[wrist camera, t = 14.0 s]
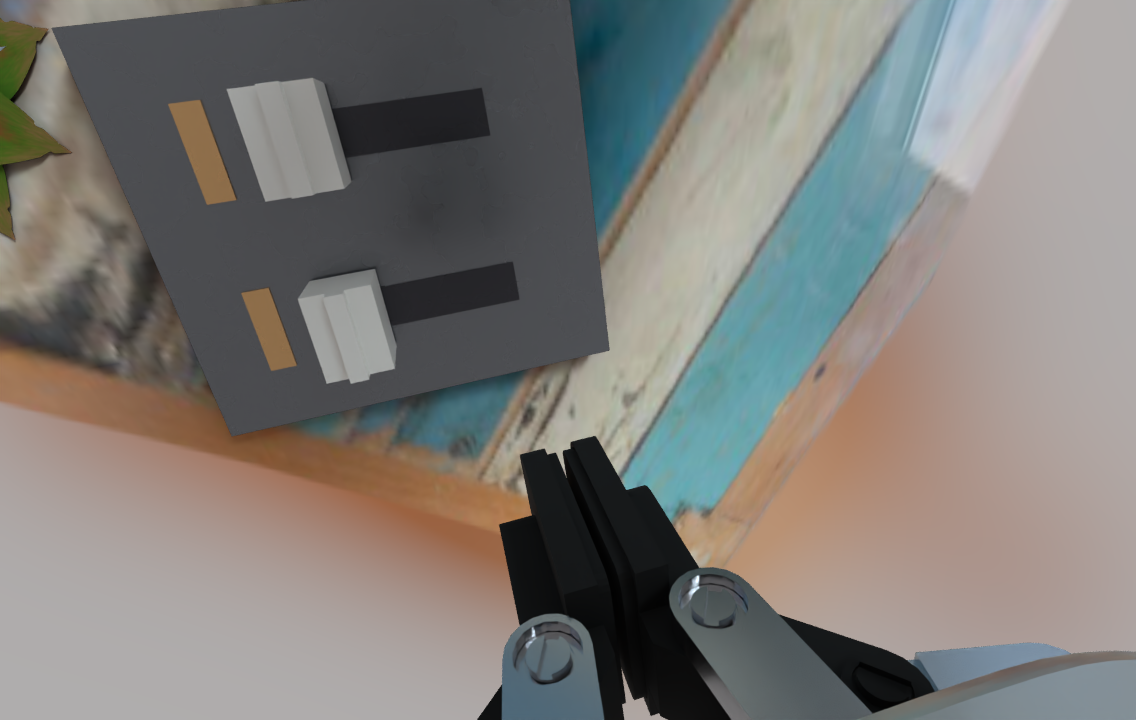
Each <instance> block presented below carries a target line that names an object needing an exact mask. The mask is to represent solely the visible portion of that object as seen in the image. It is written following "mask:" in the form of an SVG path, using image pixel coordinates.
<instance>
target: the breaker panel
mask: <svg viewBox="0 0 1136 720" xmlns="http://www.w3.org/2000/svg"><path fill="white" fill-rule="evenodd" d="M52 30H53V33H54V35H55V37H56V39H57V42H58V44H59V46H60V49H61V51H62V53H63V55H64V58H65V60H66V62H67V64H68V67H69V69H70V71H71V73H72V76H73V78H74V80H75V82H76V85H77V87H78V89H79V92H80V94H81V96H82V98H83V101H84V103H85V105H86V107H87V110H88V112H89V114H90V116H91V119H92V121H93V123H94V126H95V128H96V130H97V132H98V135H99V137H100V139H101V141H102V144H103V146H104V148H105V150H106V153H107V155H108V157H109V159H110V162H111V164H112V166H113V169H114V171H115V173H116V175H117V178H118V180H119V182H120V184H121V187H122V189H123V191H124V193H125V196H126V198H127V200H128V202H129V205H130V207H131V209H132V212H133V214H134V216H135V218H136V221H137V223H138V225H139V227H140V230H141V232H142V234H143V236H144V239H145V241H146V243H147V245H148V248H149V250H150V252H151V255H152V257H153V259H154V261H155V264H156V266H157V268H158V270H159V273H160V275H161V277H162V279H163V282H164V284H165V286H166V289H167V291H168V293H169V295H170V298H171V300H172V302H173V304H174V307H175V309H176V311H177V313H178V316H179V318H180V320H181V322H182V325H183V327H184V329H185V332H186V334H187V336H188V338H189V341H190V343H191V345H192V347H193V350H194V352H195V354H196V356H197V359H198V361H199V363H200V365H201V368H202V370H203V372H204V375H205V377H206V379H207V381H208V384H209V386H210V388H211V390H212V393H213V395H214V397H215V399H216V402H217V404H218V406H219V408H220V411H221V413H222V415H223V418H224V420H225V422H226V424H227V427H228V429H229V431H230V433H231V436H236V435H240V434H245V433H249V432H253V431H258V430H262V429H267V428H271V427H275V426H280V425H284V424H289V423H293V422H297V421H302V420H306V419H311V418H315V417H319V416H324V415H328V414H333V413H337V412H341V411H346V410H350V409H355V408H359V407H363V406H368V405H372V404H376V403H381V402H385V401H390V400H394V399H398V398H403V397H407V396H412V395H416V394H420V393H425V392H429V391H434V390H438V389H442V388H447V387H451V386H456V385H460V384H464V383H469V382H473V381H478V380H482V379H486V378H491V377H495V376H500V375H504V374H508V373H513V372H517V371H522V370H526V369H530V368H535V367H539V366H544V365H548V364H552V363H557V362H561V361H566V360H570V359H574V358H579V357H583V356H588V355H592V354H596V353H601V352H605V351H609V341H608V332H607V323H606V315H605V306H604V297H603V288H602V280H601V271H600V262H599V253H598V244H597V236H596V227H595V218H594V209H593V200H592V192H591V183H590V174H589V165H588V156H587V148H586V139H585V130H584V121H583V113H582V104H581V95H580V86H579V77H578V69H577V60H576V51H575V42H574V33H573V25H572V16H571V7H570V0H304V1H295V2H286V3H277V4H267V5H258V6H249V7H240V8H231V9H221V10H212V11H203V12H194V13H185V14H175V15H166V16H157V17H148V18H139V19H129V20H120V21H111V22H102V23H93V24H83V25H74V26H65V27H56V28H52ZM308 78H314V79H316V80H319V81H321V82H323V83H324V85H325V88H326V92H327V95H328V99H329V102H330V106H331V110H332V113H333V117H334V120H335V124H336V127H337V131H338V135H339V138H340V142H341V145H342V149H343V152H344V156H345V160H346V163H347V167H348V170H349V174H350V177H351V181H352V182H351V183H350V184H349V185H348V186H347V187H346V188H345V189H340V190H334V191H328V192H322V193H316V194H314V195H312V196H305V197H299V198H293V199H292V198H285V199H279V200H273V201H267V202H265V199H264V196H263V193H262V191H261V188H260V185H259V182H258V179H257V176H256V173H255V170H254V167H253V164H252V162H251V159H250V156H249V153H248V150H247V147H246V144H245V141H244V138H243V135H242V133H241V130H240V127H239V124H238V121H237V118H236V115H235V112H234V109H233V106H232V104H231V101H230V98H229V95H228V92H227V89H232V88H239V87H247V86H255V84H258V83H266V82H274V81H280V82H285V81H293V80H300V79H308ZM371 269H375V271H376V274H377V278H378V282H379V285H380V289H381V292H382V296H383V299H384V303H385V306H386V310H387V314H388V317H389V321H390V324H391V328H392V331H393V335H394V338H395V342H396V346H397V347H396V360H395V369H392V370H387V371H383V372H378V373H374V374H370V378H369V380H365V381H361V382H356V383H352V384H351V383H350V380H349V379H346V380H342V381H337V382H333V383H328V384H327V383H326V380H325V377H324V374H323V371H322V368H321V365H320V362H319V360H318V357H317V354H316V351H315V348H314V345H313V342H312V339H311V336H310V334H309V331H308V328H307V325H306V322H305V319H304V316H303V313H302V310H301V308H300V305H299V302H298V298H299V296H300V295H301V293H302V292H303V290H304V289H305V287H306V285H307V284H308V282H309V281H313V280H318V279H324V278H329V277H334V276H340V275H345V274H350V273H355V272H361V271H366V270H371Z"/></svg>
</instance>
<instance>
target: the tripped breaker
mask: <svg viewBox="0 0 1136 720" xmlns="http://www.w3.org/2000/svg"><path fill="white" fill-rule="evenodd" d="M298 302H299V305H300V308H301V310H302V313H303V316H304V319H305V322H306V325H307V328H308V331H309V334H310V336H311V339H312V342H313V345H314V348H315V351H316V354H317V357H318V360H319V362H320V365H321V368H322V371H323V374H324V377H325V380H326V383H327V384H328V383H333V382H337V381H342V380H346V379H349V380H350V383H351V384H352V383H356V382H361V381H365V380H369V378H370V374H374V373H378V372H383V371H387V370H392V369H395V360H396V347H397V346H396V342H395V338H394V335H393V331H392V328H391V324H390V321H389V317H388V314H387V310H386V306H385V303H384V299H383V296H382V292H381V289H380V285H379V282H378V278H377V274H376V271H375V269H371V270H366V271H361V272H355V273H350V274H345V275H340V276H334V277H329V278H324V279H318V280H313V281H309V282H308V284H307V285H306V287H305V289H304V290H303V292H302V293H301V295H300V296H299V298H298Z"/></svg>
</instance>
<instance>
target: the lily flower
mask: <svg viewBox="0 0 1136 720" xmlns="http://www.w3.org/2000/svg"><path fill="white" fill-rule="evenodd" d="M47 31H48V29H46V28H37V27H34V28H33V27H32V26H29V25H25V24H22V23H18V22H15V21H9V22H4V21H2V19H1V18H0V47H4V46H6V47H5V48H4V49H3V50H1V51H0V232H1V233H3V234H5V235H7V236H9V237H10V238H12V239H14V240H15V237H14V234H13V231H12V229H11V228H12V222H11V214H10V213H9V211H8V210H7V209H8V207H10V199H9V192H8V186H7V180H6V175H5V172H4V168H3V165H2V164H9V163H15V162H21V161H25V160H30V159H35V158H39V157H42V156H43V155H44V154H47V153H48V152H50V151H51V152H53V154H54V153H55V154H57V153H72V152H71V151H69V150H68V149H66V148H65V147H64V146H62V145H60V144H58V142H57V141H56V140H55V139H54V138H53V137H51V136H50V135H49V134H48V133H47V132H46V131H45V130H44V129H42V128H39V127H37V126H36V125H35V124H34V120H33V119H32V118H30V117H29V116H28V115H27V114H26V113H25V112H24V111H22V110H21V109H20V108H19V107H18V106H16V105H15V104H14V103H13V102H12V101H10V99H11V98H12V97H13V96H14V95H15V93H16V92H17V91H18V89H19V88H20V86H21V84H22V82H23V80H24V78H25V77H26V75H27V73H28V70H29V68H30V66H31V63H32V61H33V59H34V56H35V53H36V48H35V47H36V41H40V40H41V39H42V37H43V36H44V34H45V33H46V32H47Z"/></svg>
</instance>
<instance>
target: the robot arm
mask: <svg viewBox="0 0 1136 720" xmlns="http://www.w3.org/2000/svg"><path fill="white" fill-rule="evenodd" d="M563 458H564V464H565V470H566V476H565V473H564V471H563V468H562V466H561V464H560V461H559V459H558V456H557V454H556V453H552V454H548V455H547V453H546V450H545V449H541V450H537V451H533V452H529V453H525V454H521V455H520V459H521V464H522V469H523V474H524V479H525V484H526V489H527V494H528V499H529V504H530V509H531V514H532V516H528V517H525V518H521V519H517V520H514V521H510V522H506V523H502V524H499V527H500V532H501V536H502V541H503V546H504V551H505V556H506V561H507V566H508V571H509V575H510V580H511V585H512V590H513V595H514V600H515V605H516V610H517V614H518V619H519V624H520V627H518V628H517V629H516V630H515V632H513V634H512V635H511V636H510V638H509V640H508V642H507V644H506V645H505V648H504V654H503V663H502V668H503V670H502V685H501V687H500V688H499V689H498V691H497V692H496V694H495V695H494V697H493V698H492V699H491V701H490V702H489V704H488V705H487V706H486V708H485V709H484V711H483V712H482V713H481V715H480V716H479V718H478V719H477V720H624V714H623V708H622V704H624V703H626V700H625V692H624V685H623V678H622V671H623V673H624V676H625V679H626V681H627V684H628V687H629V689H630V692H631V694H632V697H633V699H634V700H636V699H639V698H642V697H644V699H645V702H646V705H647V707H648V710H649V712H650V715H651V716H652V715H655V714H658V713H659V714H660V716H662V717H663V718H665V719H668V720H1136V652H1129V651H1101V652H1100V651H1099V652H1085V653H1073V654H1071V653H1069V652H1067V651H1066V650H1063V649H1060V648H1056V647H1053V646H1051V645H1047V644H1040V643H1019V644H1008V645H996V646H985V647H974V648H962V649H950V650H939V651H928V652H916V653H915V659H914V660H905V659H904V658H903V657H900V656H898V655H896V654H894V653H891V652H889V651H887V650H884V649H881V648H878V647H875V646H872V645H869V644H866V643H863V642H860V641H857V640H854V639H851V638H848V637H845V636H842V635H839V634H836V633H833V632H830V631H827V630H824V629H821V628H818V627H815V626H812V625H809V624H806V623H803V622H800V621H797V620H794V619H791V618H788V617H785V616H782V615H779V614H777V613H776V612H775V611H774V610H773V609H772V608H771V606H770V605H769V604H768V603H767V602H766V601H765V600H764V599H763V598H762V597H761V596H760V595H759V594H758V593H757V592H756V591H755V590H754V589H753V588H752V586H750V584H749V583H747V582H746V581H745V580H744V579H742V578H741V577H740V576H739V575H736V574H734V573H732V572H730V571H728V570H724V569H719V568H714V567H710V568H699V567H698V565H697V563H696V562H695V560H694V559H693V557H692V555H691V554H690V552H689V551H688V549H687V548H686V546H685V544H684V543H683V541H682V540H681V538H680V536H679V535H678V533H677V532H676V530H675V528H674V527H673V525H672V524H671V522H670V520H669V519H668V517H667V516H666V514H665V512H664V511H663V509H662V508H661V506H660V504H659V503H658V501H657V500H656V498H655V496H654V495H653V493H652V492H651V490H650V489H649V488H648V487H647V486H646V485H644V486H640V487H636V488H633V489H629V490H626V489H625V487H624V485H623V484H622V482H621V480H620V478H619V476H618V475H617V473H616V471H615V469H614V468H613V466H612V464H611V462H610V460H609V459H608V457H607V455H606V453H605V452H604V450H603V448H602V446H601V444H600V443H599V441H598V439H597V438H596V436H593V437H589V438H585V439H581V440H577V441H573V442H571V449H568V450H564V451H563ZM566 477H567V478H566ZM621 668H622V670H621Z"/></svg>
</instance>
